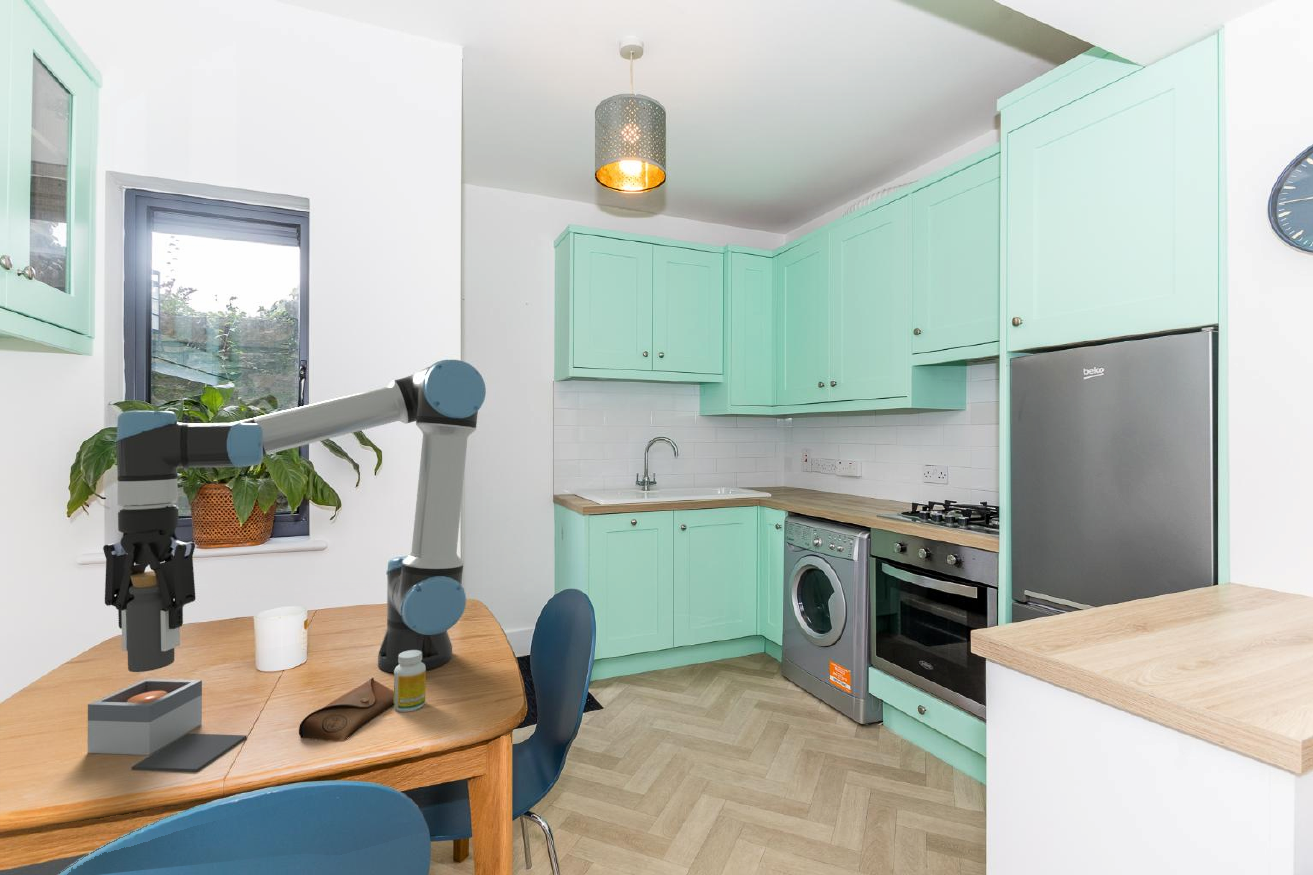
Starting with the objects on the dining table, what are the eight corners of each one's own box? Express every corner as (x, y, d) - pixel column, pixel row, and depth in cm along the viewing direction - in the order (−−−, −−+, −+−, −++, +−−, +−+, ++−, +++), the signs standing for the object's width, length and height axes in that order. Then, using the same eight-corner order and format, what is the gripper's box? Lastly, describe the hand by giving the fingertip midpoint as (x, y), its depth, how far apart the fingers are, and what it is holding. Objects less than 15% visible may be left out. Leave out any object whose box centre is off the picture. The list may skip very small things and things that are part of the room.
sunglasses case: (344, 742, 97) (325, 705, 97) (310, 761, 98) (292, 723, 98) (409, 695, 114) (393, 664, 115) (380, 711, 115) (365, 680, 116)
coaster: (246, 737, 98) (246, 735, 98) (196, 771, 88) (196, 768, 88) (187, 735, 99) (187, 733, 99) (131, 769, 89) (131, 766, 89)
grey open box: (201, 724, 103) (202, 680, 103) (149, 754, 93) (149, 706, 93) (145, 722, 103) (145, 678, 103) (87, 752, 93) (87, 704, 93)
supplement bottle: (387, 707, 109) (388, 654, 109) (414, 697, 114) (414, 646, 114) (404, 715, 106) (405, 661, 106) (431, 704, 111) (431, 652, 111)
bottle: (147, 673, 95) (145, 578, 95) (118, 671, 96) (116, 577, 96) (183, 659, 100) (182, 570, 100) (155, 657, 102) (153, 568, 101)
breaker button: (175, 727, 100) (175, 691, 100) (148, 742, 95) (148, 704, 95) (146, 726, 101) (146, 690, 101) (118, 741, 96) (118, 703, 96)
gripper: (222, 502, 101) (224, 640, 101) (115, 503, 102) (118, 639, 102) (185, 508, 94) (187, 657, 94) (70, 509, 95) (73, 656, 95)
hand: (151, 647), depth 98 cm, fingers closed on bottle, 6 cm apart
